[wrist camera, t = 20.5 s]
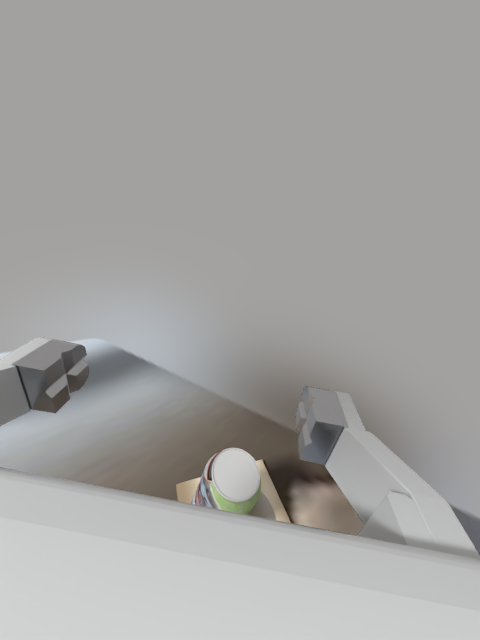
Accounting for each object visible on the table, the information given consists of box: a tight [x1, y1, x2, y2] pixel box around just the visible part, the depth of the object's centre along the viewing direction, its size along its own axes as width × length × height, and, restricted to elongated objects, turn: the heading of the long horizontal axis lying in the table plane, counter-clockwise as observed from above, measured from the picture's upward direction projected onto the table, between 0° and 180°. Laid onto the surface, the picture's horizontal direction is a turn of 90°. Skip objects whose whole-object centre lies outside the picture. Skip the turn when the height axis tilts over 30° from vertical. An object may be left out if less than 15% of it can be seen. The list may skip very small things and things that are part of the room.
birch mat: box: [176, 460, 291, 523], centre depth 30 cm, size 13×13×1 cm
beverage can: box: [191, 448, 261, 515], centre depth 27 cm, size 6×7×12 cm
